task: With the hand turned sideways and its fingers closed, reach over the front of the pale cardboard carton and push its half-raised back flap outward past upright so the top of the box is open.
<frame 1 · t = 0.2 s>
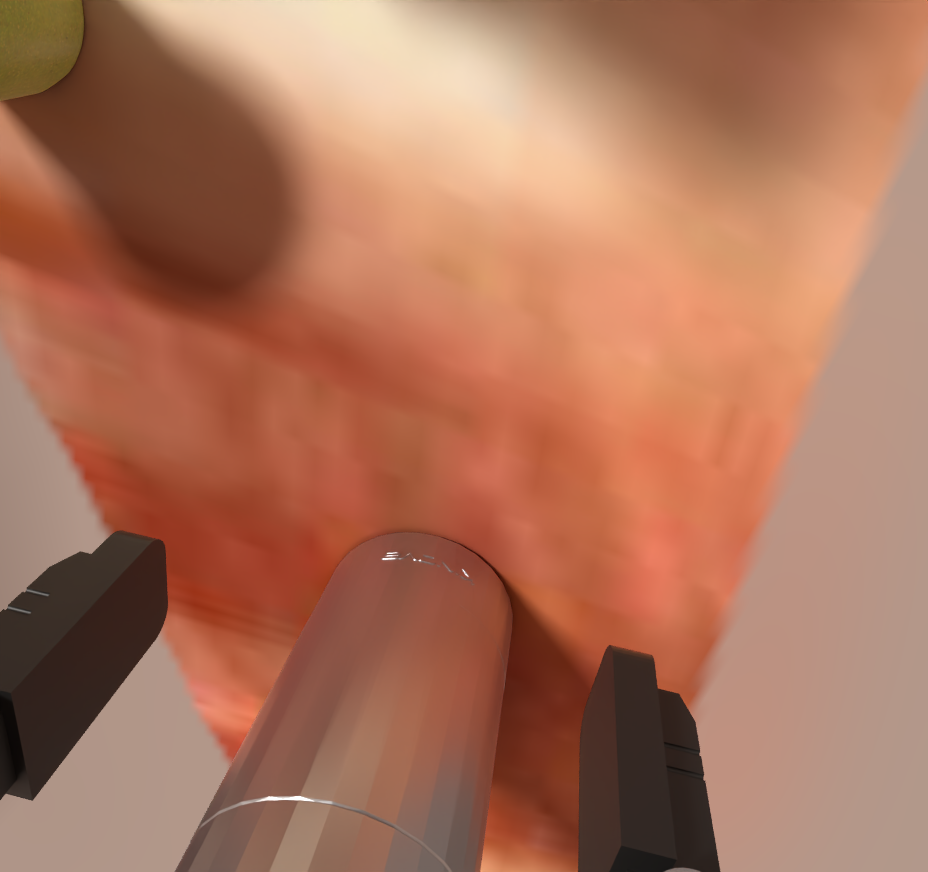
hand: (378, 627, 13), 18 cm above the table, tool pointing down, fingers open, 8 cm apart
plant pot: (15, 3, 26), on the table
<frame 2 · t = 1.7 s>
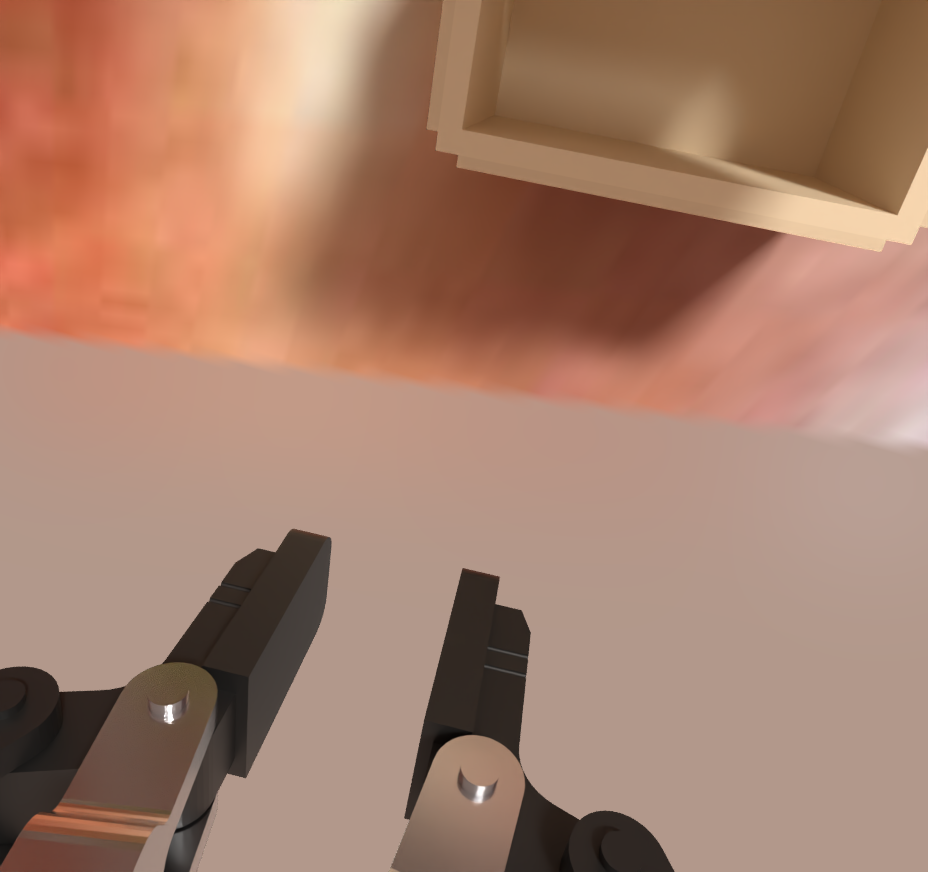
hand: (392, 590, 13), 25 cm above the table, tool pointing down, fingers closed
carton: (687, 12, 30), on the table
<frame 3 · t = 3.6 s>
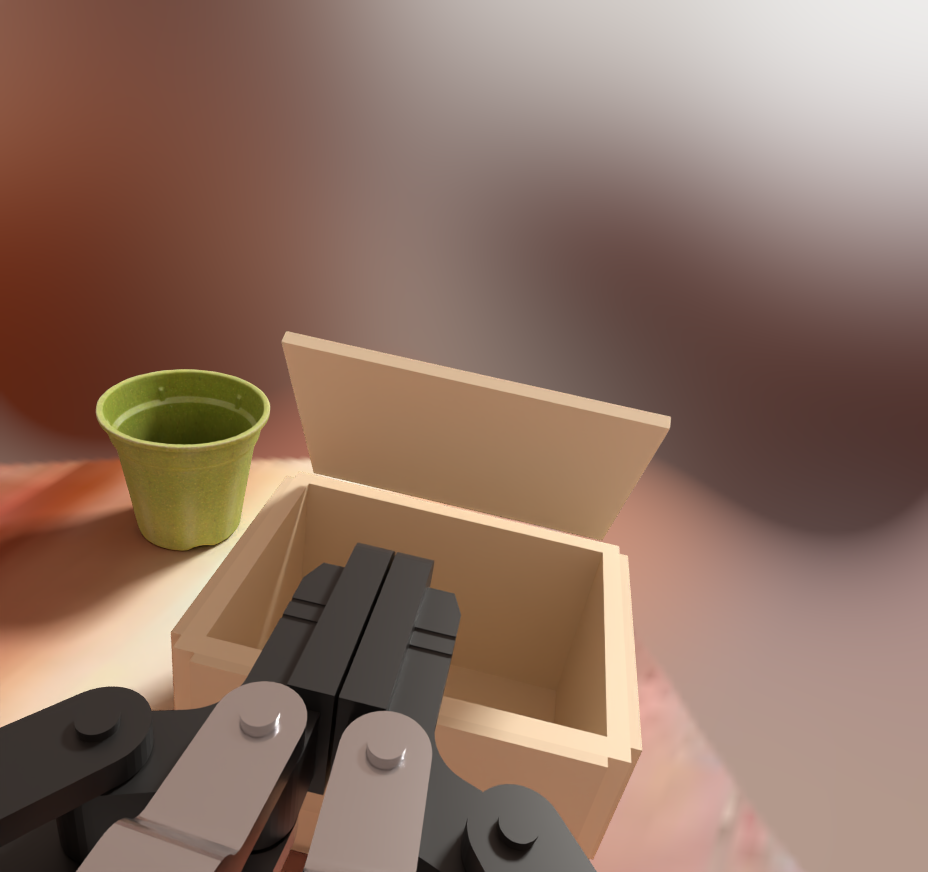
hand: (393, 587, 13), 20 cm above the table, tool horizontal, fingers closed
back flap: (464, 449, 29), point 15 cm above the table, hinge at -30.0°
carton: (402, 745, 34), on the table
plant pot: (189, 525, 46), on the table
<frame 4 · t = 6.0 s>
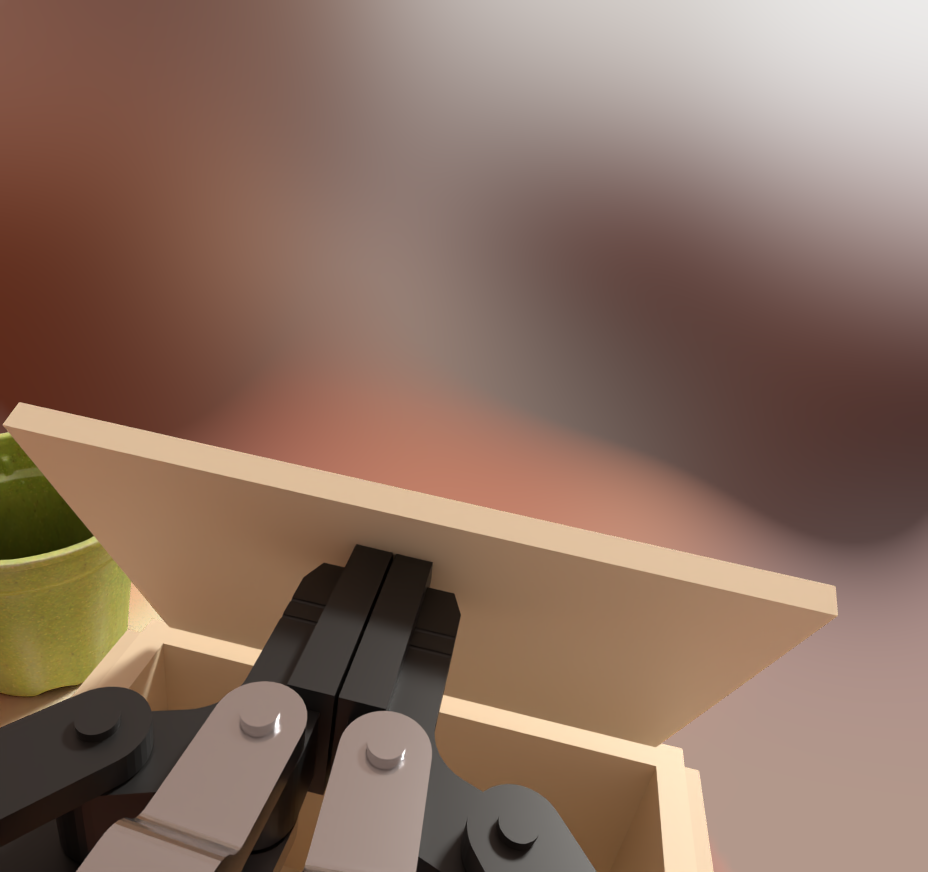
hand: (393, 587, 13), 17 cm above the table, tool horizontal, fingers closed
back flap: (407, 612, 16), point 15 cm above the table, hinge at -26.7°, touching gripper
plant pot: (52, 649, 32), on the table
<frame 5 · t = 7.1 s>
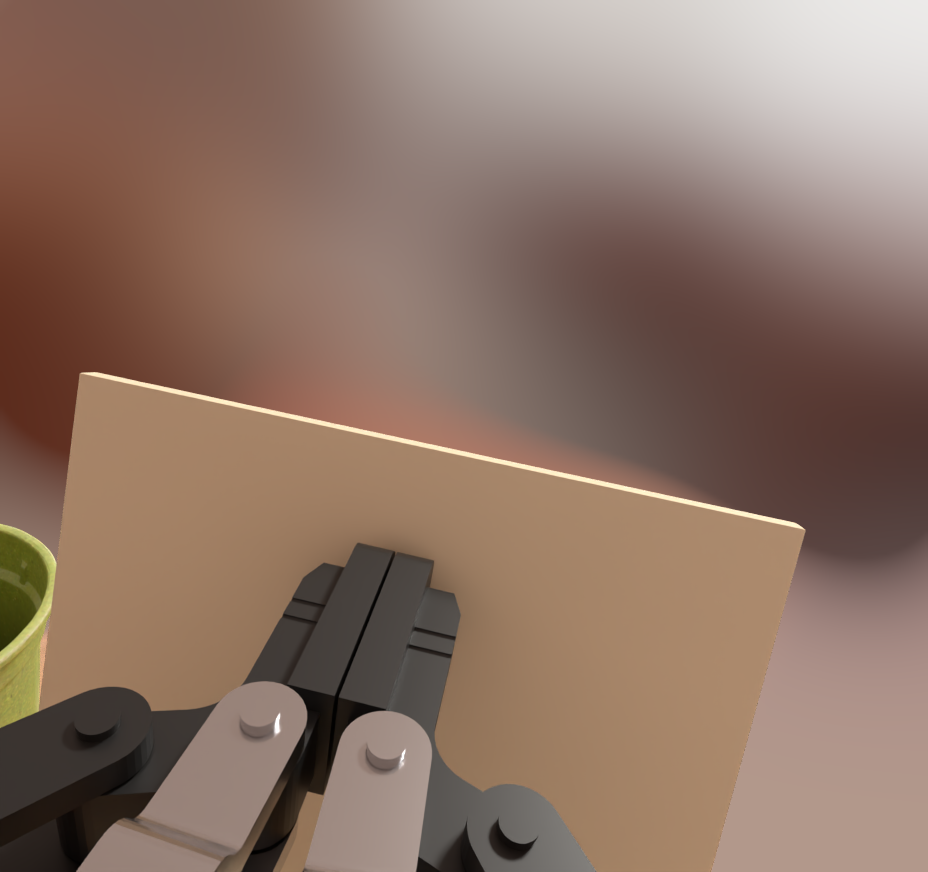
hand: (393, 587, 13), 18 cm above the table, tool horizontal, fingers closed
back flap: (382, 687, 14), point 15 cm above the table, hinge at 20.3°, touching gripper
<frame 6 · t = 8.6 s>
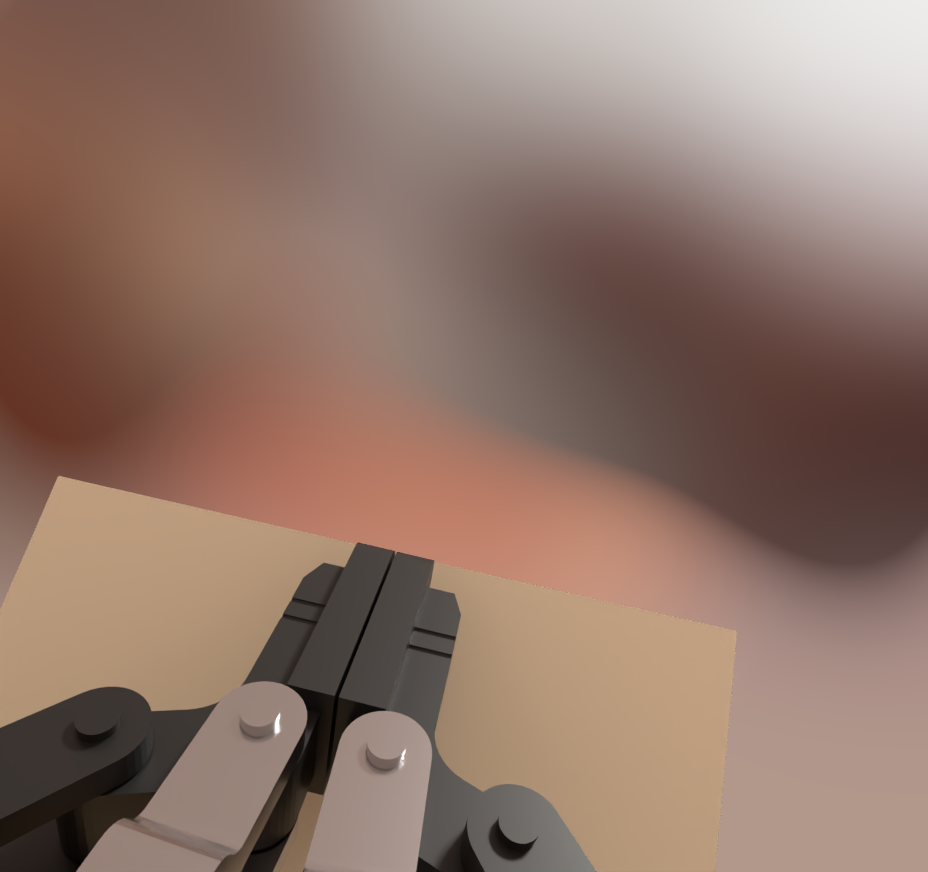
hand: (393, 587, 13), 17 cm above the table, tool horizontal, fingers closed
back flap: (320, 823, 13), point 14 cm above the table, hinge at 47.5°, touching gripper
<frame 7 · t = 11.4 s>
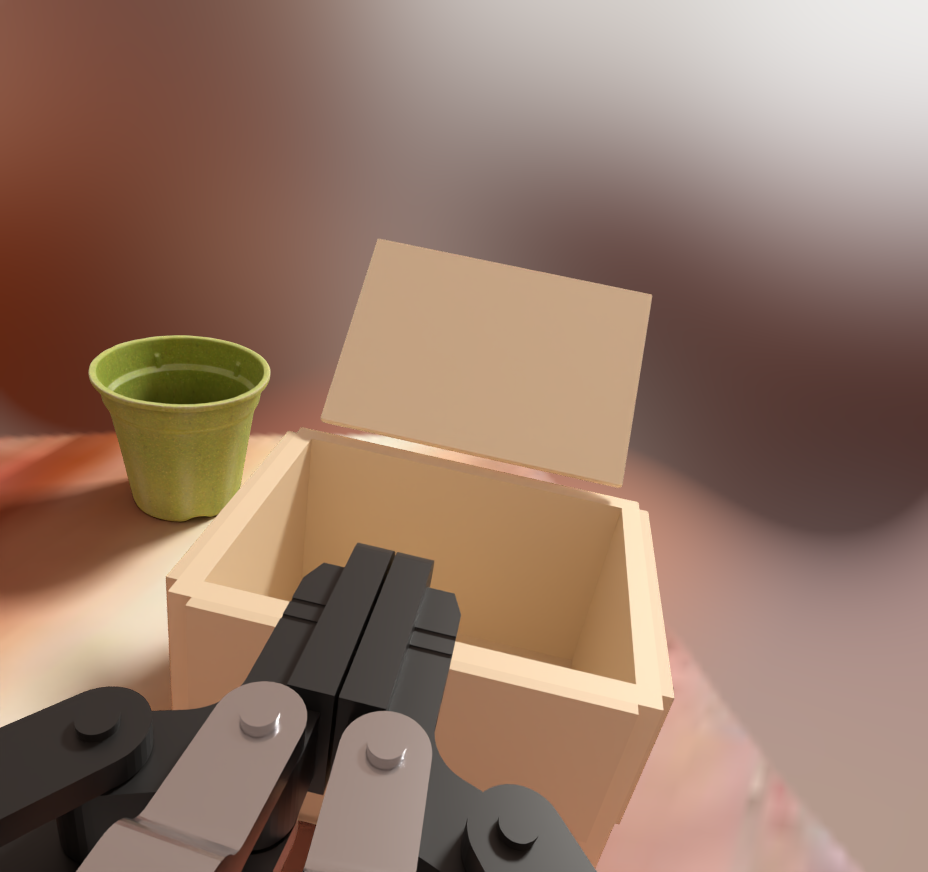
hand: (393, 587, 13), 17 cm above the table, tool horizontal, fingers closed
back flap: (492, 356, 34), point 14 cm above the table, hinge at 47.5°
carton: (411, 714, 32), on the table
plant pot: (187, 497, 44), on the table
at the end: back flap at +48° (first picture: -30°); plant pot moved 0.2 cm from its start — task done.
